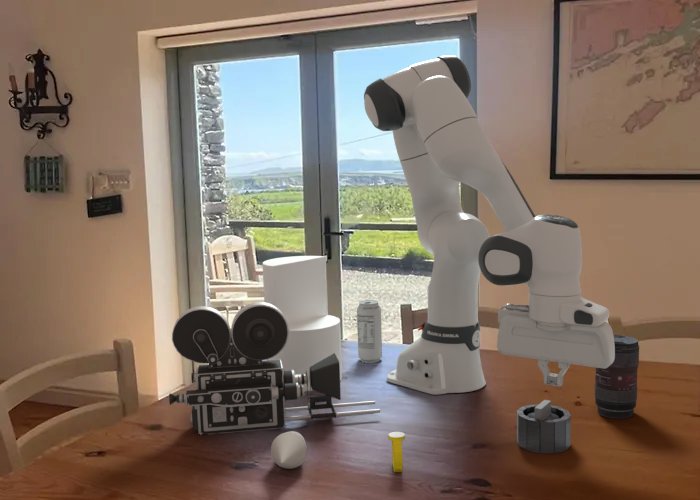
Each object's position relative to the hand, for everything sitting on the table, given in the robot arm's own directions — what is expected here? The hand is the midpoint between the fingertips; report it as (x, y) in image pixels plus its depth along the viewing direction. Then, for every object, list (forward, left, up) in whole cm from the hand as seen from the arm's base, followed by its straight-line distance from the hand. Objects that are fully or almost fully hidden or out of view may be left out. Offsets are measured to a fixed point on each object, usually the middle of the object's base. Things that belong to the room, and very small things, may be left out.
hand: (553, 384), depth 132 cm
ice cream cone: (-32, -35, -11) cm, 49 cm away
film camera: (-48, -20, -11) cm, 53 cm away
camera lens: (+5, +20, -11) cm, 23 cm away
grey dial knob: (-1, -2, -7) cm, 8 cm away
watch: (-17, -25, -11) cm, 32 cm away
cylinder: (-62, +5, -11) cm, 63 cm away
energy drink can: (-58, +26, -11) cm, 64 cm away
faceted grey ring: (-1, -2, -10) cm, 11 cm away
